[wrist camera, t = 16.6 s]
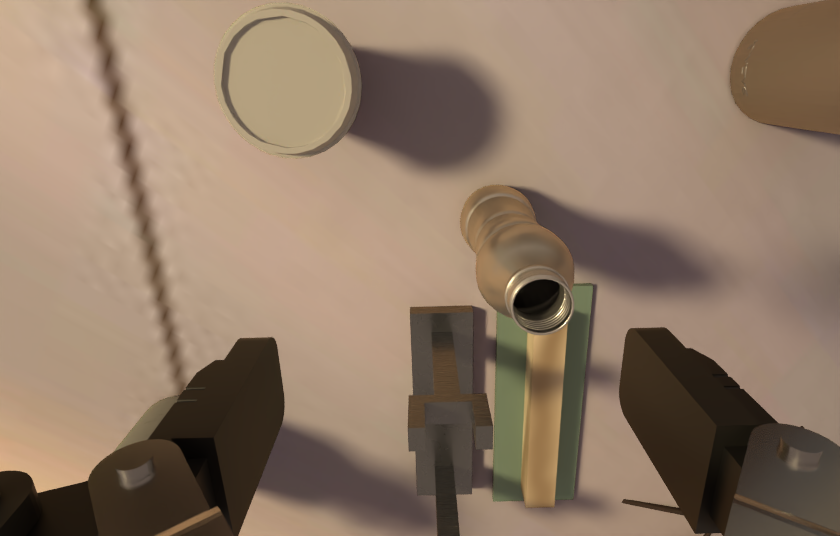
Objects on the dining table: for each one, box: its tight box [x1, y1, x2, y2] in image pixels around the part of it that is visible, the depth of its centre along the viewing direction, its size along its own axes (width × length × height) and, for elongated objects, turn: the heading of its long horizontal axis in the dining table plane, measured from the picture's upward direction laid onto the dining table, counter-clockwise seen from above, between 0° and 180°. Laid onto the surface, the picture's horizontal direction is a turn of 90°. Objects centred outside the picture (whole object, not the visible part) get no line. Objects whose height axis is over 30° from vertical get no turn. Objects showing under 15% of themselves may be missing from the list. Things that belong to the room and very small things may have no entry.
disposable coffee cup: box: [214, 3, 362, 159], centre depth 38 cm, size 10×10×12 cm
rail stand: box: [408, 306, 493, 536], centre depth 47 cm, size 6×22×16 cm, turn 2°
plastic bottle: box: [460, 185, 574, 335], centre depth 39 cm, size 6×7×20 cm
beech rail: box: [521, 323, 568, 508], centre depth 53 cm, size 3×22×3 cm, turn 2°
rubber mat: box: [493, 283, 593, 501], centre depth 55 cm, size 9×26×1 cm, turn 2°
